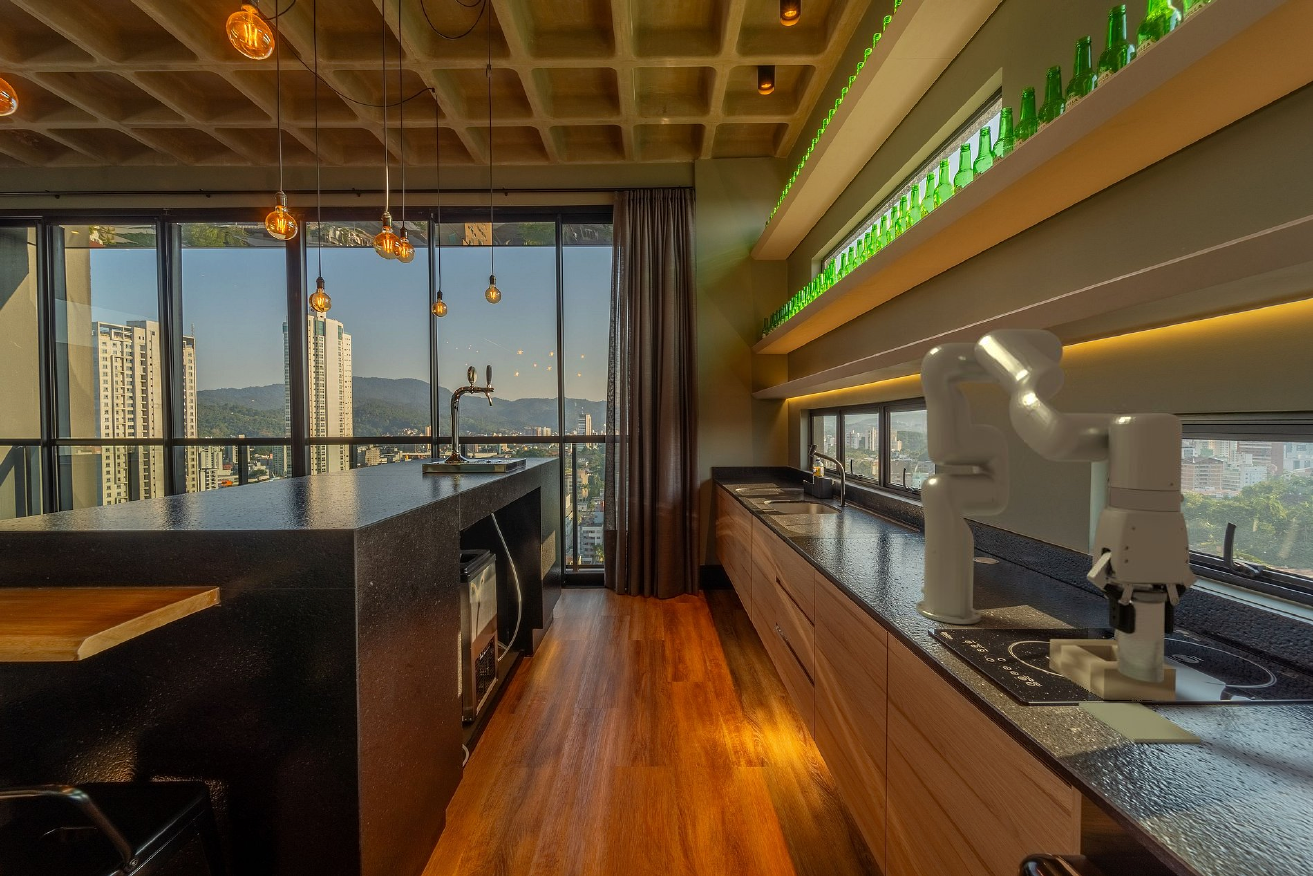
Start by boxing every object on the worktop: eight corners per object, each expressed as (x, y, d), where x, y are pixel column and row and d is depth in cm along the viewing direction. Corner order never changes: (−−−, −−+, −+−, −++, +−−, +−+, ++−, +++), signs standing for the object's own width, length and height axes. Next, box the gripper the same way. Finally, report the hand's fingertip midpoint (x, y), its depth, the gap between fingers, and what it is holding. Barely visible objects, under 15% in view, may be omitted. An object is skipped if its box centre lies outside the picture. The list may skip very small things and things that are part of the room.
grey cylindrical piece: (1105, 665, 76) (1106, 583, 76) (1141, 665, 76) (1142, 584, 76) (1138, 683, 71) (1139, 595, 71) (1176, 683, 71) (1178, 595, 71)
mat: (1078, 706, 78) (1079, 702, 78) (1138, 706, 78) (1138, 703, 78) (1133, 742, 69) (1133, 738, 69) (1201, 742, 69) (1201, 739, 69)
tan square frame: (1049, 667, 91) (1050, 639, 91) (1112, 668, 91) (1113, 639, 91) (1103, 701, 80) (1104, 668, 80) (1175, 701, 80) (1176, 669, 80)
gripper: (1176, 498, 77) (1174, 620, 77) (1061, 497, 77) (1059, 620, 77) (1232, 505, 69) (1229, 641, 70) (1105, 504, 69) (1103, 640, 70)
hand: (1140, 628), depth 73 cm, fingers closed on grey cylindrical piece, 4 cm apart
